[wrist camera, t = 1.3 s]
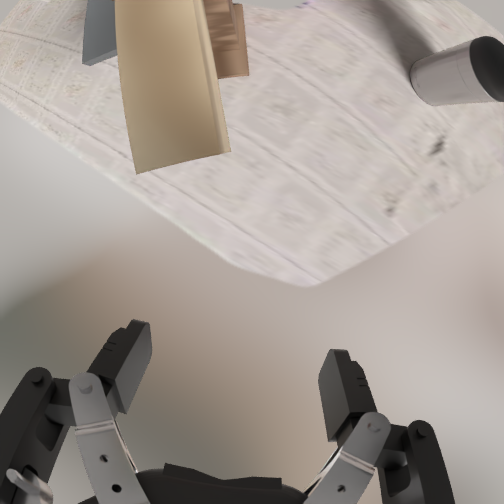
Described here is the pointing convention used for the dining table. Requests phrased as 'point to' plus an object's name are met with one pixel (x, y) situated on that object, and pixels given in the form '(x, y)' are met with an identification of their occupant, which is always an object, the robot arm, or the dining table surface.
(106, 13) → the low stand
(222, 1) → the tall stand
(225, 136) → the teal-dotted wooden beam
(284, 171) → the dining table surface
